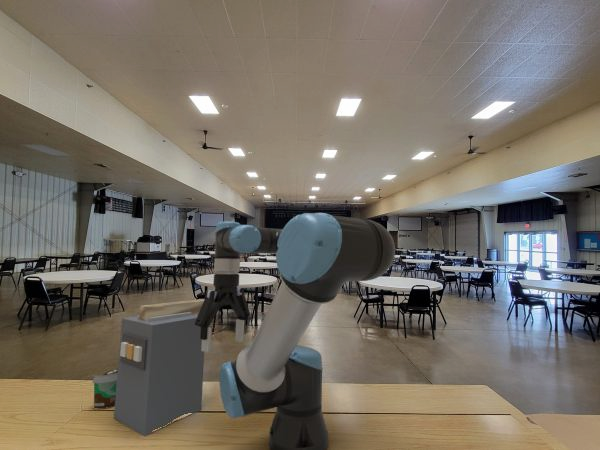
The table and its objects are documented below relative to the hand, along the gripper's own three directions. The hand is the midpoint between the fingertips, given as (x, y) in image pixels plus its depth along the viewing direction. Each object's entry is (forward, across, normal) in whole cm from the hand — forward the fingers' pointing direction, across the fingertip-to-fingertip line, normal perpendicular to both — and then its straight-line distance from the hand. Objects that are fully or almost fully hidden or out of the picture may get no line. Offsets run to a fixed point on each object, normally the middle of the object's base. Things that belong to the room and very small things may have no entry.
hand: (223, 346), depth 92 cm
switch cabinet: (+21, +7, -18) cm, 28 cm away
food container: (+21, +10, -36) cm, 43 cm away
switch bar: (-7, +1, -18) cm, 19 cm away
